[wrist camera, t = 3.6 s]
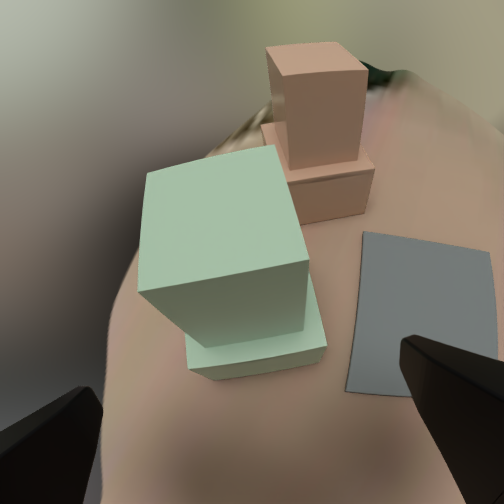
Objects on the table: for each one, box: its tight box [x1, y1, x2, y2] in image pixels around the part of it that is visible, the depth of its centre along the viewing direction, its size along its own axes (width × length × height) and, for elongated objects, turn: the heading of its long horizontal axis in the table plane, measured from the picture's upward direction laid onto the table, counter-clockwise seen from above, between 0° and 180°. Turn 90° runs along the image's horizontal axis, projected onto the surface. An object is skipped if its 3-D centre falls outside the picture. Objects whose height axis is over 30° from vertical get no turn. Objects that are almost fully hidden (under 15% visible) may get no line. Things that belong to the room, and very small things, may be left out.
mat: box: [345, 231, 498, 397], centre depth 18 cm, size 12×12×1 cm
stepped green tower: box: [137, 144, 327, 380], centre depth 15 cm, size 7×7×12 cm
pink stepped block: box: [261, 42, 375, 225], centre depth 20 cm, size 7×7×12 cm
